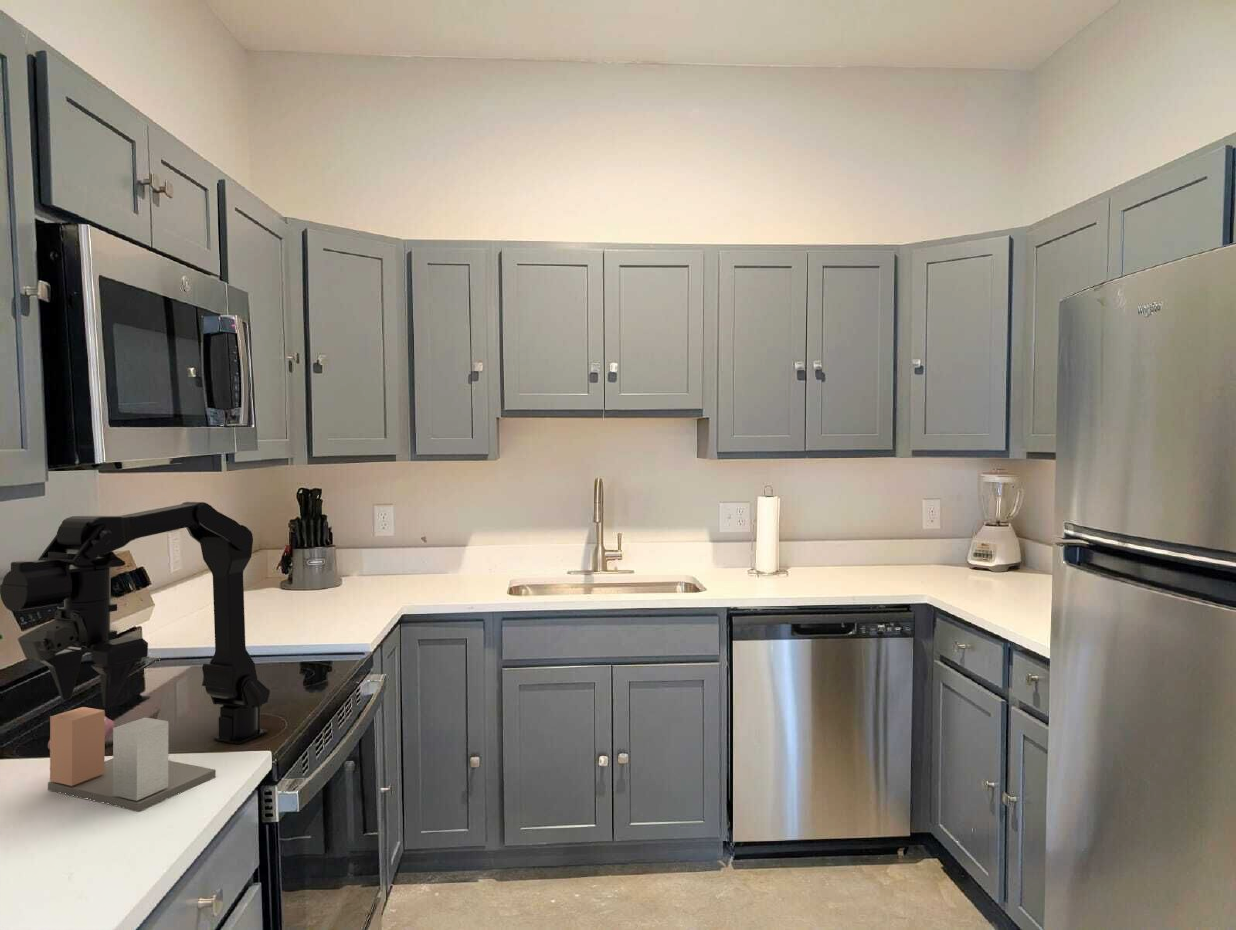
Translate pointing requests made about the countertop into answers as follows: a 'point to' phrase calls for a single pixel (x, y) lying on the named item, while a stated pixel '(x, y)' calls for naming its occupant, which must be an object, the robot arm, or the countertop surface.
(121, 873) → the countertop surface
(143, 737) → the brushed grey block
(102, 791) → the thin grey base plate
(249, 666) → the robot arm
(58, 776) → the peach orange rectangular block
